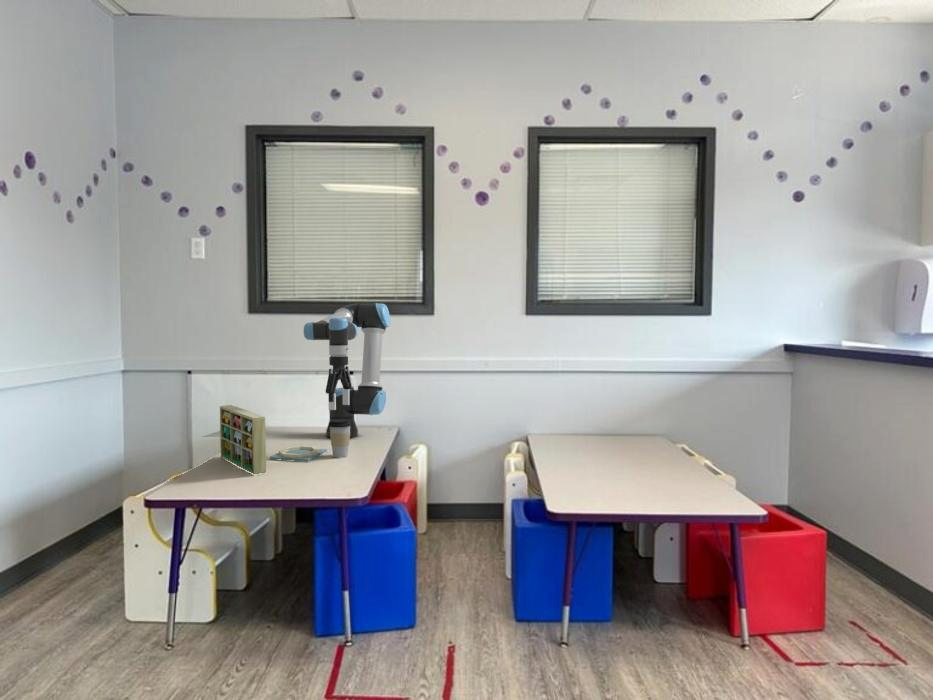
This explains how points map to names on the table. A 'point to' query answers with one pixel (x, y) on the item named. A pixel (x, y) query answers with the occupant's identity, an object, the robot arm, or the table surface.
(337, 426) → the coffee cup
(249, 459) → the beige cubby shelf
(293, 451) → the ring mat
